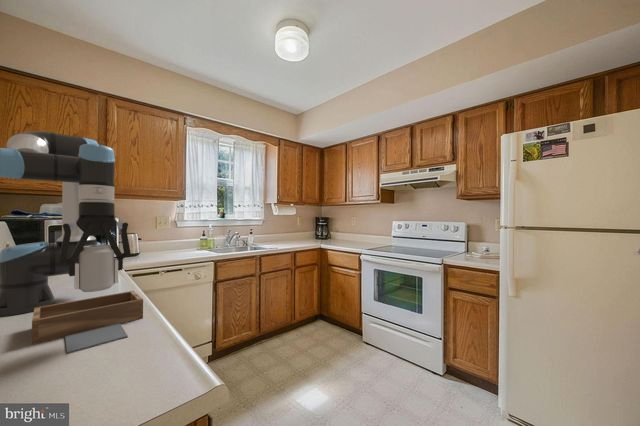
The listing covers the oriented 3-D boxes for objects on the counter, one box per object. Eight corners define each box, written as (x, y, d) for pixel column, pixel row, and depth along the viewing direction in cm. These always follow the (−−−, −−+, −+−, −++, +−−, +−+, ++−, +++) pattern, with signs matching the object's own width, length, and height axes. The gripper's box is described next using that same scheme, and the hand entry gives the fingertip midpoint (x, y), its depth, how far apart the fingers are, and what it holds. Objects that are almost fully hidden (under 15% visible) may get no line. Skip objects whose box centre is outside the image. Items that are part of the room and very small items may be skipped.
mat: (65, 337, 72) (65, 336, 72) (119, 324, 80) (119, 323, 80) (66, 353, 63) (66, 352, 63) (127, 337, 72) (127, 335, 72)
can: (93, 293, 67) (93, 247, 67) (70, 292, 69) (70, 246, 69) (121, 286, 75) (121, 244, 75) (99, 285, 76) (100, 243, 76)
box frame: (34, 327, 78) (34, 307, 78) (133, 307, 95) (133, 290, 95) (31, 344, 68) (31, 321, 68) (143, 318, 85) (143, 299, 85)
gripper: (43, 199, 62) (42, 296, 62) (144, 202, 77) (144, 280, 76) (43, 201, 67) (43, 290, 67) (138, 203, 82) (138, 276, 82)
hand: (96, 284), depth 72 cm, fingers closed on can, 7 cm apart
